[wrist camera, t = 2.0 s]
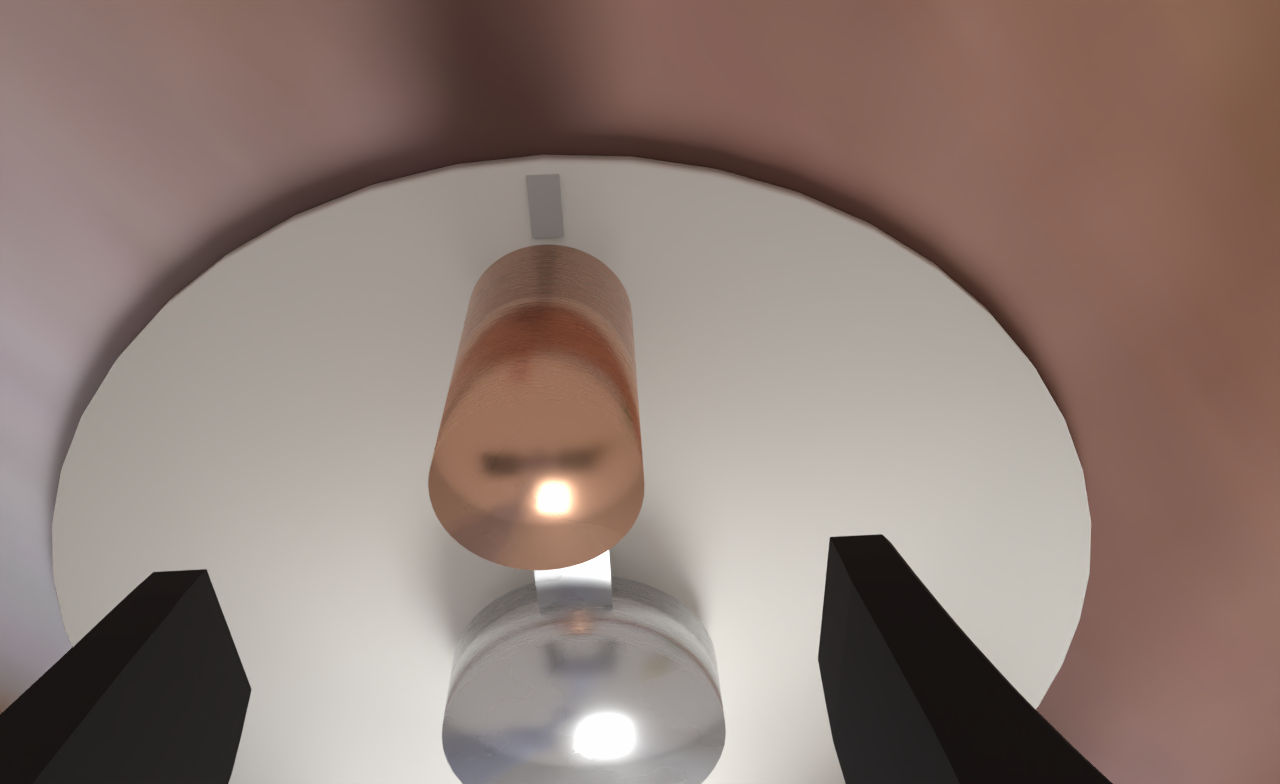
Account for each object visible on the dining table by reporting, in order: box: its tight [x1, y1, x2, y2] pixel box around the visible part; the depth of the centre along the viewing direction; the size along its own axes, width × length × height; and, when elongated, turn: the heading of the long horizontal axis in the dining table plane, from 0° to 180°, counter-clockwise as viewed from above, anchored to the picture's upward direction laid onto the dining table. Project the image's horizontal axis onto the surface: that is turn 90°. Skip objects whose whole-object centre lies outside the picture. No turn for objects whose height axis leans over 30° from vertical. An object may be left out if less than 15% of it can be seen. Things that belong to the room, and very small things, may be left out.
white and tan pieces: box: [428, 244, 726, 784], centre depth 19 cm, size 15×6×6 cm, turn 2°
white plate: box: [52, 155, 1091, 784], centre depth 24 cm, size 25×25×1 cm
